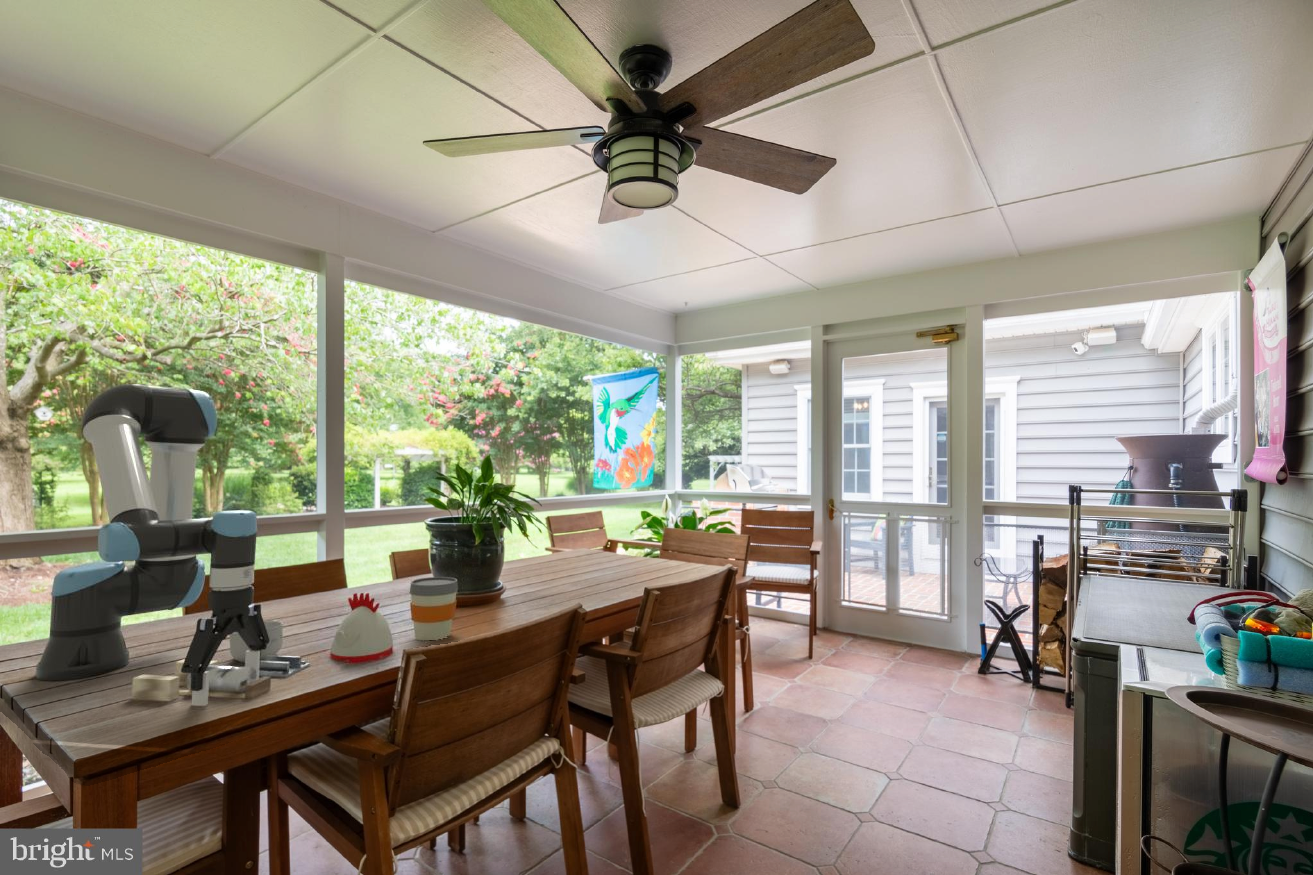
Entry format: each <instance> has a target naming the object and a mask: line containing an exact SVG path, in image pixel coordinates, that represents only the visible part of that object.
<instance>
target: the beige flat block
mask: <svg viewBox="0 0 1313 875" xmlns="http://www.w3.org/2000/svg"><path fill="white" fill-rule="evenodd" d="M184 661H185V658H183V659H181V660H177V661H176V662H175V669H174V671H175V672H174V676H173V675H159V674H141V675H137V676H135V677H132V689H131V700H140V701H141V700H142V701H157V702H171V701H174V700H175V699H178V698H179V695H180V696H192V691H191V690H189V689H180V687H183V688H187V685H186V681H187V677H188V674H189V673H182V672H181V668H182V666H183V663H184ZM219 662H220V661H219V660H211V662H210V664H209V665H218V666H219V664H220V663H219ZM200 665H201V664H200ZM190 666H191V665H190ZM271 678H272V677H265V676H264V677H259V679H258V680H256V681H253V682H251V683H249V684H247V685H245V693H229V692H211V691H209V693H208V697H213V698H214V697H215V698H231V699H248V700H250V699H255V698H256V697H259V696H260V695H263V694H264V693H266V692H268V691H270V690H271V683H272V679H271Z"/></svg>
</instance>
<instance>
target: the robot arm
mask: <svg viewBox="0 0 1313 875" xmlns="http://www.w3.org/2000/svg"><path fill="white" fill-rule="evenodd" d="M217 415H218V414H217V409H216V404H215V403H214V401H213V399H212V397H211V396H210V394H208V393H207V392H205V391H201V390H196V389H190V388H185V387H184V388H183V387H182V388H179V387H168V386H158V385H157V386H155V385H145V384H144V385H143V384H137V383H130V384H129V383H126V384H125V383H123V384H120V385H115V386H112V387H109V388H108V389H105V390H104V391H102V392H100V393H99V394H97V395H96V396H95V397H94V398H93V399H91V401H90V402H89V403H88V405H87V406H86V407H85V409H84V411H83V414H82V416H81V423H80V424H81V429H82V430H81V431H82V434H83V437H84V439H85V440H86V442H88V443H90V444H91V447H92V451H93V455H94V459H95V464H96V467H97V468H96V469H97V473H98V477H99V482H100V487H101V490H102V495H103V499H104V504H105V508H106V513H107V518H108V522H109V523H105V524H103V525H102V526H101V527H100V528H99V531H98V535H97V545H98V546H97V551H98V552H97V553H98V556H99V557H100V559H101V560H99V561H94V562H88V563H87V562H86V563H83V564H79V565H78V564H77V565H74V566H70V567H68V568H64V569H63V570H60V571H59V572H57V573H56V575H55V576H54V577H53V582H52V587H51V588H52V589H51V592H50V596H51V605H50V606H51V607H50V623H49V624H50V626H49V638H48V642H47V643H46V646H45V648H44V650H43V653H42V655H41V658H40V660H39V661H38V663H37V665H36V666H35V667H36V668H35V679H37V680H40V681H41V680H42V681H51V682H52V681H53V682H54V681H66V680H67V681H69V680H76V679H83V678H89V677H94V676H98V675H103V674H106V673H110V672H113V671H116V670H118V669H121V668H123V667H125V666H126V665H128V664H129V662H130V651H129V649H128V648H127V645H126V641H125V638H124V636H123V633H122V628H121V626H122V617H128V616H133V615H140V614H148V613H149V614H150V613H154V612H160V611H173V610H175V609H180V608H183V607H184V608H185V607H188V606H192V605H193V604H194V603H195V602H196V601H197V600H198V599H199V597H200V595H201V593H202V591H203V588H204V585H205V579H206V571H205V569H206V567H205V563H204V561H203V560H202V559H201V558H198V557H197V556H198V555H207V554H209V555H210V564H209V565H210V566H209V580H208V581H209V582H208V583H209V584H208V586H209V587H210V588H211V589H210V590H209V591H208V603H207V604H208V605H207V606H208V608H209V609H210V610H211V611H212V613H211V616H210V618H202V617H201V618H198V619H197V621H196V627H195V633H194V634H193V639H192V640H191V643H190V646H189V648H188V650H187V653H186V656H185V658H184V659H185V661H184V663H183V666H182V668H181V672H182V673H190V674H191V691H192V695H191V706H195V707H196V706H197V707H206V706H208V705H209V696H208V693H209V671H206V669H207V667H208V666H209V664H210V662H211V661H213V658H214V656H215V654H216V653H217V651H218V649H219V647H220V645H221V643H222V642H223V641H224V640H226V639H227V637H228V636H230V634H232V633H234V632H238V634H239V635H240V636H241V638H242V639H243V641H244V642H245V643H246V645H247V646H248V647H249V649H251V650H247V651H246V656H245V662H244V667H253V668H254V669H255V670H256V674H257V677H256V680H258V679H260V677H259V665H260V662H261V650H265V649H266V647H267V645H266V644H268V643H269V641H270V639H269V636H268V633H267V630H266V627H265V624H264V621H265V620H264V619H263V616H262V605H261V604H259V603H254V598H255V597H254V596H255V595H254V594H255V587H254V586H253V585H252V584H254V583H255V564H256V547H257V532H258V525H257V524H258V522H257V513H256V512H255V511H252V510H243V509H242V510H241V509H240V510H238V509H237V510H222V511H217V512H214V514H213V516H203V517H200V518H193V506H194V493H195V492H194V491H195V479H196V468H197V455H198V454H197V452H198V451H199V450H200V449H201V448H202V447H205V445H206V440H207V439H209V438H211V437H213V436H214V435H215V433H216V429H217V427H218V416H217ZM140 435H144V443H145V444H146V445H147V446H148V447H149V448H150V449H151V462H150V471H149V472H150V473H149V474H150V475H149V476H148V472H147V468H146V464H145V463H146V462H145V461H144V457H143V453H142V450H141V445H140V442H139V436H140ZM125 562H130V563H131V562H134V564H127V565H126V563H125ZM261 637H262V638H261ZM200 664H201V667H199V666H200ZM190 665H191V666H190Z"/></svg>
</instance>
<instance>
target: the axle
mask: <svg viewBox="0 0 1313 875" xmlns="http://www.w3.org/2000/svg"><path fill="white" fill-rule="evenodd" d="M199 667H201V665H200V666H199ZM206 671H209V691H211V692H229V693H245V685H247V684H249V683H251V682H253V681H256V677H257V674H256V670H255V669H254V668H253V667H245V666H237V665H235V666H234V665H232V666H231V665H219V664H218V665H209V666H208V667H207V669H206ZM186 685H187V687H186V688H187V690H191V674H190V673H189V674H188V677H187V681H186Z"/></svg>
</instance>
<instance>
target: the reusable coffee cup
mask: <svg viewBox="0 0 1313 875" xmlns="http://www.w3.org/2000/svg"><path fill="white" fill-rule="evenodd" d="M458 591H459V586H458V579H457V578H455V577H449V576H432V577H431V576H430V577H421V578H416V579H414V580H411V581H410V587H409V594H410V599H411V601H410V603H409V606H410V608H409V609H410V617H411V621H412V622H413V630H414V638H416V639H415V640H417V641H420V640H423V641H422V642H425V641H424V640H436V641H438V640H437V639H441V638H445V639H447V638H448V637H447V636H449V635H451V630H452V624H453V623H452V622H453V618H455V616H456V615H455V613H456V607H457V602H458V601H457V592H458ZM446 637H447V638H446ZM449 637H450V636H449ZM441 640H442V639H441Z"/></svg>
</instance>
